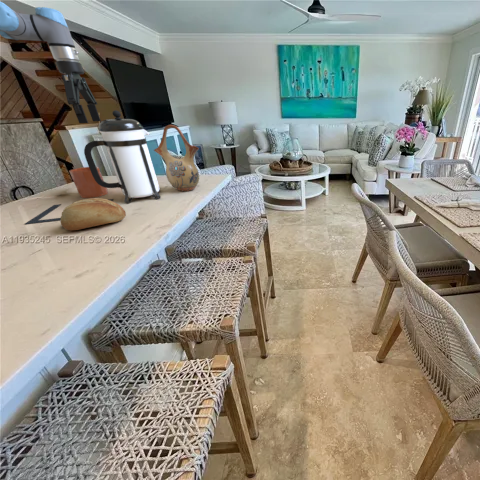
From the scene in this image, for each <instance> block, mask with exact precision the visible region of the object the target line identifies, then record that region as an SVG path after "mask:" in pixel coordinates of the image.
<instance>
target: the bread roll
mask: <svg viewBox="0 0 480 480" xmlns="http://www.w3.org/2000/svg"><path fill="white" fill-rule="evenodd" d="M126 216H127V213H126V210H125V209H124V208H123V206H121V205H120V204H119V203H116V202H114V200H113V201H110V200H108V199H107V198H101V197H93V198H82V199H79V200H76V201H73V202H72V203H71V204H69V205H68V206H66V207H65V208H64V209H63V210H62V212H61V216H60V218H61V219H60V220H59V221H60V225H61V226H62V227H63V229H65V230H67V231H78V230H79V231H80V230H83V229H88V228H93V227H96V226H101V225H107V224H112V223H117V222H119V221H122V220H123V219H125V218H126Z"/></svg>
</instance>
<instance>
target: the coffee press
mask: <svg viewBox="0 0 480 480" xmlns="http://www.w3.org/2000/svg"><path fill="white" fill-rule="evenodd" d="M112 116H113V117H114V118H110V119H103V120H101V121H99V123H98V128H97V131H98V132H99V133H100V135H101V137H102V140H91V141H89V142H88V143H87V144H85V146H84V149H83V155H84V157H85V161H86V163H87V165H88V166H87V167H89V168H90V171H91V173H92V175H93V178H94V179H95V181H96V182H97V183H98V184H99V185H100V186H102V187H105V188H107V189H116V188H118V189H120V190H121V192H122V194H123V196H124V200H123V201H124V203H126V204H131V203H132V201H133V199H138V198H146V197H150V196H151V197H153V198H154V199H155V200H159V199H161V195H160V194H159V193H160V192H161V189H160V185H159V181H158V178H157V175H156V171H155V168H154V164H153V161H152V158H151V154H150V151H149V147H148V142H147V138H146V137H145V136H150V132H149V131H147V130H146V129H144V126H143V125H142V124H141V123H140V122H139V121H138V120H136V119H133V118H122V117H121V116H122V113H121V112H120V111H119V110H116V109H115V110H113V111H112ZM101 146H102V147H103V146H104V147H105V148H106V151H107V154H108V157H109V159H110V162H111V165H112V168H113V171H114V173H115V176H116V180H117V181H118V182H106V181H105V180H104V179H103V180H104V181H103V180H102V179H101V178H100V176H99V173H98V171H97V168H96V167H97V166H96V163H95V161H94V157H93V155H92V150H93V148H96V147H101Z"/></svg>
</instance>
